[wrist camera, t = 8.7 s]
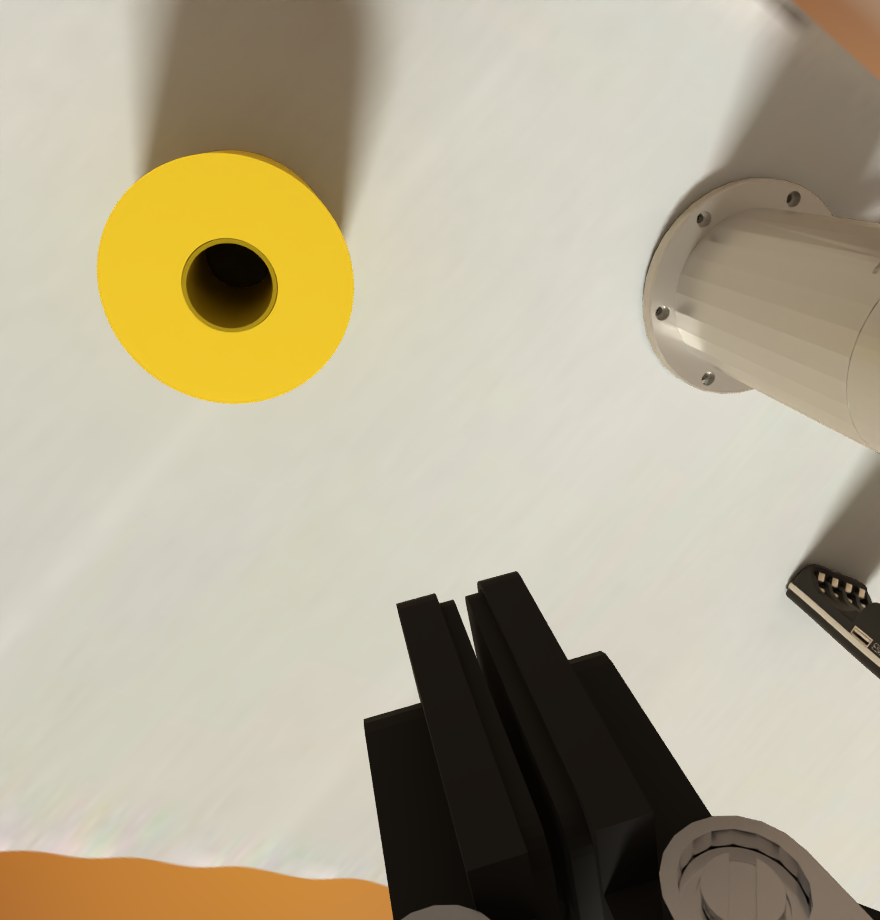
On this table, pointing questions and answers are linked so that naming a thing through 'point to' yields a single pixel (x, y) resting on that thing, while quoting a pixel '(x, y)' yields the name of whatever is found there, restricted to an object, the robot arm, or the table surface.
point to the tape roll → (207, 298)
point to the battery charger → (841, 611)
